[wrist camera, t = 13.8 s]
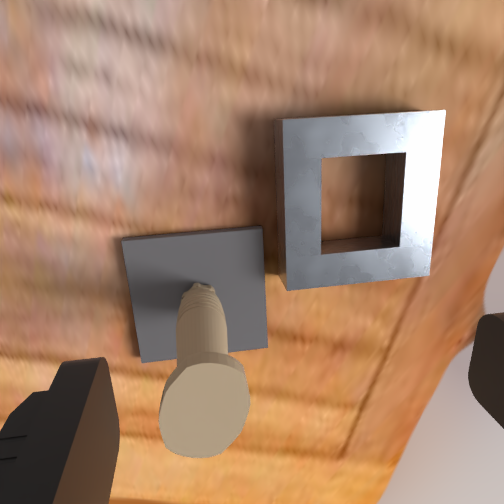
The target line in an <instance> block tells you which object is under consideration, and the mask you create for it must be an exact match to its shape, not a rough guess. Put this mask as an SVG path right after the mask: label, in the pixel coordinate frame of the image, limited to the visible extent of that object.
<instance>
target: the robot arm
mask: <svg viewBox="0 0 504 504" xmlns="http://www.w3.org/2000/svg"><path fill="white" fill-rule="evenodd" d="M468 379H469V385H470V388H471V391H472V393H473V395H474V397H475V398H476V400H477V401H478V402H479V403H480V404H481V405H482V407H484V409H485V410H486V411H487V412H488V413H489V414H490V415H491V416H492V417H493V418H494V419H495V420H496V421H497V422H498V423H499V424H500V425H501V426H502V427H503V429H504V313H495V314H487V315H484V316H483V317H481V319H480V320H479V322H478V326H477V331H476V336H475V341H474V346H473V351H472V357H471V361H470V366H469V372H468ZM119 440H120V429H119V418H118V413H117V408H116V403H115V398H114V393H113V387H112V382H111V377H110V372H109V367H108V363H107V361H106V359H105V358H104V357H99V358H91V359H82V360H73V361H64V362H63V363H62V364H61V365H60V367H59V369H58V371H57V374H56V376H55V378H54V380H53V382H52V384H51V386H50V388H49V390H48V391H40V392H33V393H32V394H31V395H30V396H29V397H28V398H27V399H26V400H25V401H23V402H22V403H21V404H20V405H19V406H18V407H17V408H16V409H15V410H14V411H13V412H12V413H11V414H10V415H9V417H8V419H7V420H6V422H5V424H4V426H3V428H2V429H1V431H0V504H108V503H109V498H110V493H111V488H112V482H113V477H114V472H115V467H116V462H117V457H118V451H119Z"/></svg>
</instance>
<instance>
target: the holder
mask: <svg viewBox="0 0 504 504" xmlns="http://www.w3.org/2000/svg"><path fill="white" fill-rule="evenodd" d="M445 113H446V110H420V111H403V112H386V113H369V114H352V115H335V116H318V117H300V118H283V119H274V144H275V174H276V205H277V236H278V266H279V277H280V279H281V281H282V282H283V284H284V286H285V288H286V290H287V291H291V290H300V289H309V288H318V287H328V286H337V285H346V284H355V283H365V282H374V281H383V280H393V279H402V278H411V277H420V276H429V271H430V262H431V252H432V242H433V232H434V222H435V212H436V202H437V192H438V182H439V172H440V162H441V152H442V142H443V132H444V123H445ZM386 153H387V154H386ZM372 154H386V171H385V189H384V206H383V224H382V236H371V237H360V238H350V239H339V240H329V241H321V158H329V157H343V156H357V155H372Z"/></svg>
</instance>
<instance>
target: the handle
mask: <svg viewBox="0 0 504 504" xmlns="http://www.w3.org/2000/svg"><path fill="white" fill-rule="evenodd" d="M176 349H177V367H176V368H175V370H174V371H173V372H172V374H171V375H170V376H169V378H168V379H167V381H166V384H165V387H164V390H163V394H162V399H161V403H160V410H159V427H160V431H161V435H162V438H163V441H164V444H165V447H166V448H167V449H169V450H170V451H172V452H173V453H175V454H178V455H181V456H185V457H191V458H207V457H212V456H216V455H218V454H221V453H222V452H223V451H224V450H225V449H226V448H227V447H228V446H229V445H230V444H231V443H232V442H233V441H234V440H235V439H236V438H237V437H238V435H239V434H240V433H241V431H242V429H243V426H244V424H245V421H246V418H247V415H248V412H249V407H250V395H249V389H248V384H247V380H246V375H245V371H244V367H243V365H242V364H241V363H240V362H239V361H238V360H236V359H235V358H233V357H231V356H229V355H228V344H227V326H226V320H225V314H224V311H223V308H222V305H221V302H220V300H219V298H218V297H217V296H216V294H215V289H214V288H213V287H212V286H211V285H202V284H200V283H194V284H193V286H192V287H191V289H190V290H188V291H187V292H184V293H183V295H182V298H181V304H180V307H179V311H178V316H177V323H176Z"/></svg>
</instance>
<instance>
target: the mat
mask: <svg viewBox="0 0 504 504" xmlns="http://www.w3.org/2000/svg"><path fill="white" fill-rule="evenodd" d="M121 242H122V248H123V254H124V260H125V266H126V272H127V278H128V284H129V290H130V296H131V302H132V308H133V314H134V320H135V326H136V332H137V338H138V344H139V350H140V356H141V362H142V363H147V362H155V361H163V360H171V359H177V349H176V323H177V316H178V311H179V307H180V304H181V298H182V295H183V293H184V292H187V291H188V290H190V289H191V287H192V286H193V284H194V283H200V284H202V285H211V286H212V287H213V288H214V289H215V294H216V296H217V297H218V298H219V300H220V302H221V305H222V308H223V311H224V314H225V320H226V326H227V344H228V352H236V351H244V350H252V349H260V348H268V339H267V317H266V295H265V273H264V251H263V229H262V227H261V226H252V227H240V228H229V229H218V230H206V231H195V232H184V233H172V234H161V235H150V236H139V237H127V238H123V239H122V241H121Z"/></svg>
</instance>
